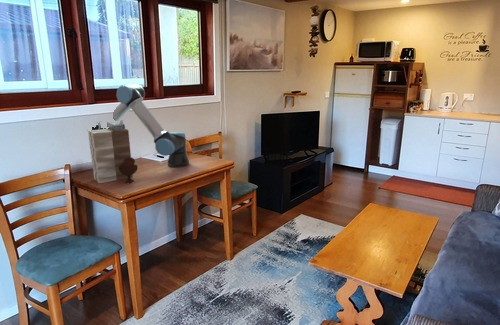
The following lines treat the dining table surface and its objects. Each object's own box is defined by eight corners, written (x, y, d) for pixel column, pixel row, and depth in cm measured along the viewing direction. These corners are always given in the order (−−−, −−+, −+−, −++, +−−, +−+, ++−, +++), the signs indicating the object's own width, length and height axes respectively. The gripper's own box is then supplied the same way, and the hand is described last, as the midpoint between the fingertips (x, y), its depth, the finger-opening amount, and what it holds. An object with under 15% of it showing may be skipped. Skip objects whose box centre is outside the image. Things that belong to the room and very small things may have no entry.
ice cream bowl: (122, 179, 211) (119, 155, 207) (140, 178, 212) (138, 155, 208) (117, 184, 201) (114, 160, 197) (136, 184, 202) (134, 159, 198)
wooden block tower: (94, 178, 213) (88, 130, 205) (126, 172, 225) (121, 127, 217) (99, 183, 204) (93, 133, 196) (132, 177, 216) (128, 129, 208)
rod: (105, 127, 219) (105, 122, 218) (113, 126, 222) (113, 121, 221) (115, 131, 204) (114, 126, 203) (123, 130, 207) (123, 125, 206)
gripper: (124, 138, 239) (132, 126, 223) (86, 142, 225) (91, 130, 208) (122, 128, 241) (129, 115, 224) (83, 132, 226) (88, 119, 209)
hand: (111, 122), depth 216 cm, fingers open, 13 cm apart
